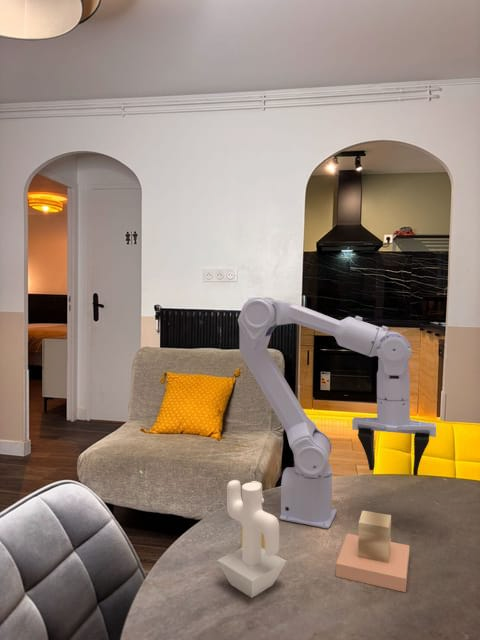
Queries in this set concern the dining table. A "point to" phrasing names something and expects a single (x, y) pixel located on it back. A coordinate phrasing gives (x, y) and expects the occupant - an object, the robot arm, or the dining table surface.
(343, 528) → the dining table surface
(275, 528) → the figurine
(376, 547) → the beech block
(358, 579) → the riser
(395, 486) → the dining table surface
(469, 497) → the dining table surface
